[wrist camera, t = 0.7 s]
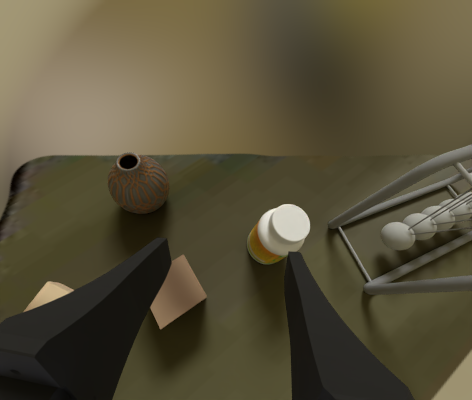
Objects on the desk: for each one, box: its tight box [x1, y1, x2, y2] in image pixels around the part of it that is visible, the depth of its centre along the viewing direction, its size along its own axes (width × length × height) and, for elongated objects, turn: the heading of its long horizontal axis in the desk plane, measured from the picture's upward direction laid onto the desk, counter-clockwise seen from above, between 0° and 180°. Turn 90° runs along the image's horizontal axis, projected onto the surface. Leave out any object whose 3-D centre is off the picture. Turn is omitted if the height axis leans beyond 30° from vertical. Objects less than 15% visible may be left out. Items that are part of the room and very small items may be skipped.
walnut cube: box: [150, 255, 207, 329], centre depth 24 cm, size 5×5×5 cm
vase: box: [108, 153, 169, 214], centre depth 27 cm, size 7×7×9 cm
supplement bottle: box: [247, 204, 310, 264], centre depth 26 cm, size 5×5×10 cm
